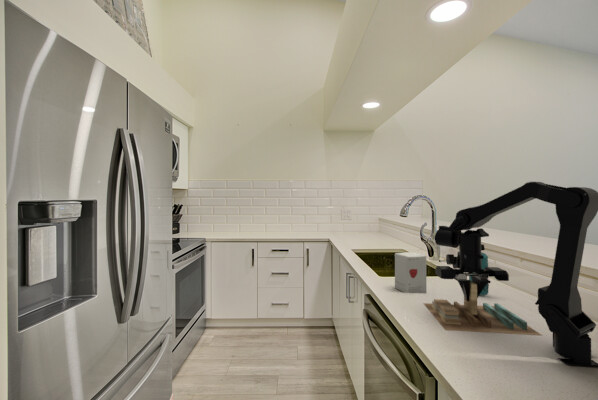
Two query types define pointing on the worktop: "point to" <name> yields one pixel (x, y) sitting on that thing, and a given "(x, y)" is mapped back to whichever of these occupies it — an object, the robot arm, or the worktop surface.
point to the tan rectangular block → (472, 299)
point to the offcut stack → (446, 311)
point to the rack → (487, 320)
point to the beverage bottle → (483, 264)
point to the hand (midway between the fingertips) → (470, 301)
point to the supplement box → (410, 272)
